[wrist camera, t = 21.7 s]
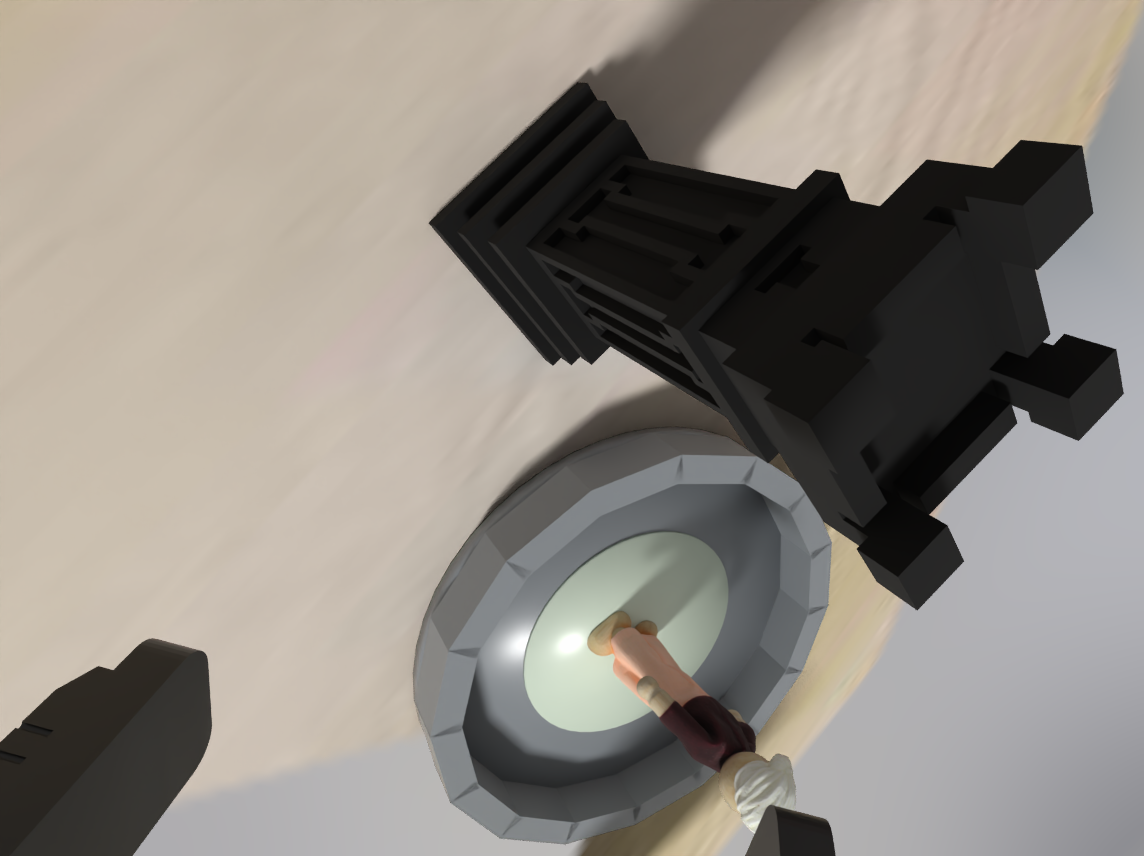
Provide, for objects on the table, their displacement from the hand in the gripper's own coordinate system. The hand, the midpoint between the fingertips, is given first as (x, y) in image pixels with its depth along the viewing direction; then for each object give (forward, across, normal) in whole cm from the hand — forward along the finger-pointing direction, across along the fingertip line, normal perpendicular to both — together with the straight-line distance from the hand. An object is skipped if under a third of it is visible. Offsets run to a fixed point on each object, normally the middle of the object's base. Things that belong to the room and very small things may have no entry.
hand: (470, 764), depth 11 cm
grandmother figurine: (+26, -4, +19) cm, 32 cm away
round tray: (+27, -3, +19) cm, 33 cm away
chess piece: (+25, +4, -2) cm, 25 cm away
